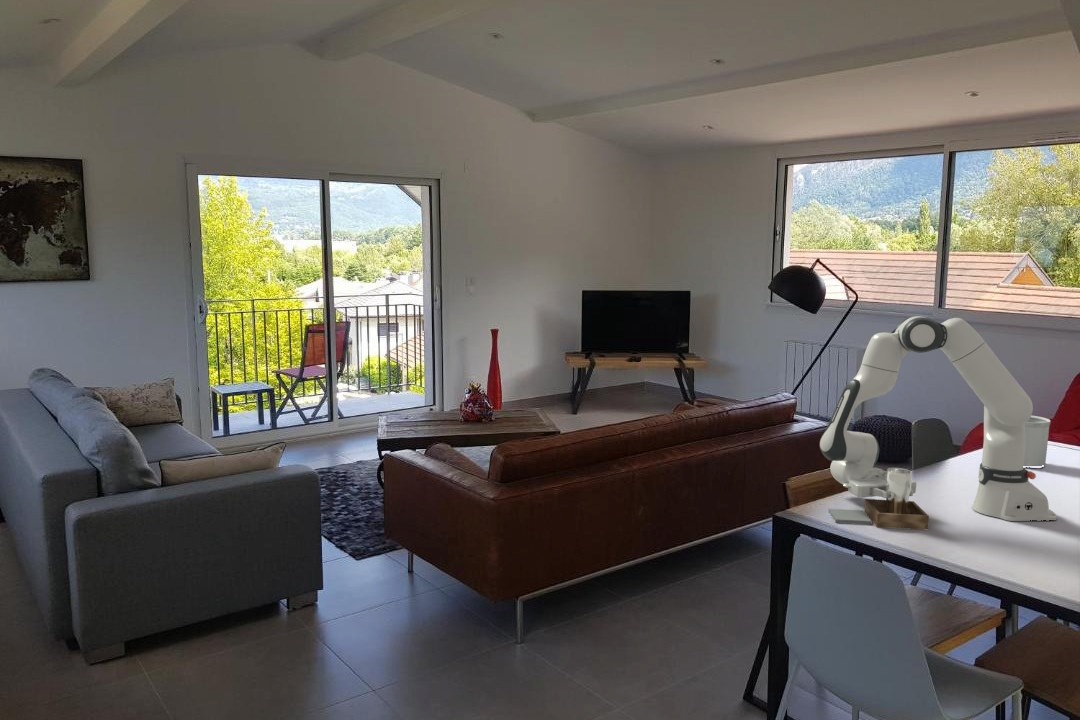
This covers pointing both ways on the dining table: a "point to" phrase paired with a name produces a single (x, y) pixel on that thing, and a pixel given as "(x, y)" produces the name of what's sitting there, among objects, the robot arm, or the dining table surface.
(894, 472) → the beer glass
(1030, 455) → the utensil holder
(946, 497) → the dining table surface
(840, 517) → the slate mat
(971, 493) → the dining table surface
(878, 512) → the wooden tray
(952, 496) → the dining table surface
